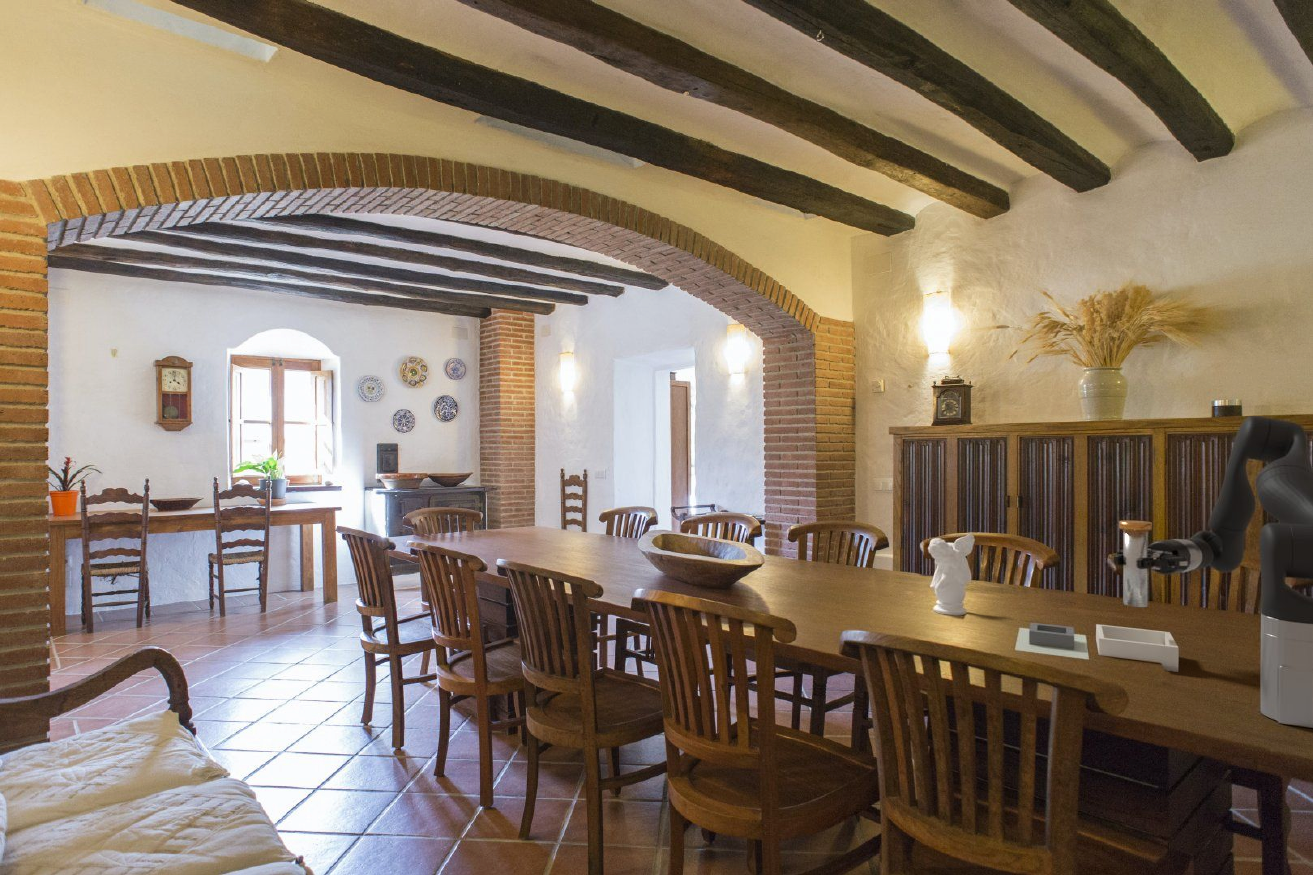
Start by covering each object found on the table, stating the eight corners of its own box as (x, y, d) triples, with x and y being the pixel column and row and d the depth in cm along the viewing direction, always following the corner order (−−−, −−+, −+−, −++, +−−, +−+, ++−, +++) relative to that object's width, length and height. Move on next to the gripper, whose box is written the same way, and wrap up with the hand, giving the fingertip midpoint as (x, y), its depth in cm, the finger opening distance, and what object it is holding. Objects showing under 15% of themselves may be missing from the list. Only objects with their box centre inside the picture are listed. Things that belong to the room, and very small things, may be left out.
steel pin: (1153, 608, 157) (1153, 524, 157) (1120, 605, 160) (1120, 522, 160) (1150, 603, 163) (1150, 521, 163) (1118, 600, 166) (1118, 519, 165)
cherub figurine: (929, 614, 201) (928, 533, 202) (927, 604, 213) (926, 528, 213) (977, 617, 198) (976, 534, 198) (973, 607, 209) (972, 529, 210)
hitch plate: (1088, 666, 155) (1089, 645, 155) (1014, 656, 162) (1014, 636, 162) (1085, 641, 174) (1085, 622, 174) (1019, 633, 181) (1019, 615, 181)
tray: (1178, 671, 152) (1178, 647, 152) (1098, 661, 159) (1099, 638, 159) (1169, 654, 164) (1169, 632, 164) (1096, 645, 171) (1096, 624, 171)
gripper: (1141, 535, 174) (1095, 540, 167) (1209, 543, 161) (1162, 549, 154) (1141, 567, 174) (1095, 573, 167) (1208, 578, 161) (1162, 585, 154)
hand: (1127, 562), depth 160 cm, fingers closed on steel pin, 4 cm apart
